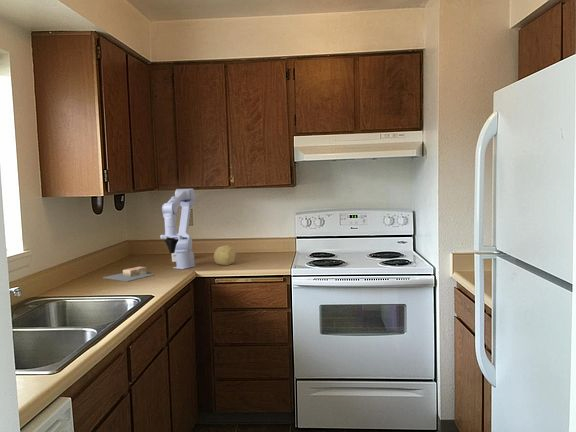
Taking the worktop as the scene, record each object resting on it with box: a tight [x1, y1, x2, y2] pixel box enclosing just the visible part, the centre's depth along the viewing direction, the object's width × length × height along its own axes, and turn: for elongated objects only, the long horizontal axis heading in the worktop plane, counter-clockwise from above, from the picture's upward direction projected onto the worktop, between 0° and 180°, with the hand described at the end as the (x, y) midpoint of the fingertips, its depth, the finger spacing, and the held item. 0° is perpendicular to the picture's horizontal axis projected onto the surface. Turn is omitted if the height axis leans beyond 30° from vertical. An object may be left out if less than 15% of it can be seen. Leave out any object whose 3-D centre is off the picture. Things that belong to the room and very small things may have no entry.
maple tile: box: [122, 266, 148, 277], centre depth 254 cm, size 3×6×10 cm
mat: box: [102, 272, 155, 282], centre depth 251 cm, size 16×20×1 cm
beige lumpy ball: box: [213, 244, 237, 266], centre depth 275 cm, size 12×12×11 cm
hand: (172, 253), depth 255 cm, fingers closed
